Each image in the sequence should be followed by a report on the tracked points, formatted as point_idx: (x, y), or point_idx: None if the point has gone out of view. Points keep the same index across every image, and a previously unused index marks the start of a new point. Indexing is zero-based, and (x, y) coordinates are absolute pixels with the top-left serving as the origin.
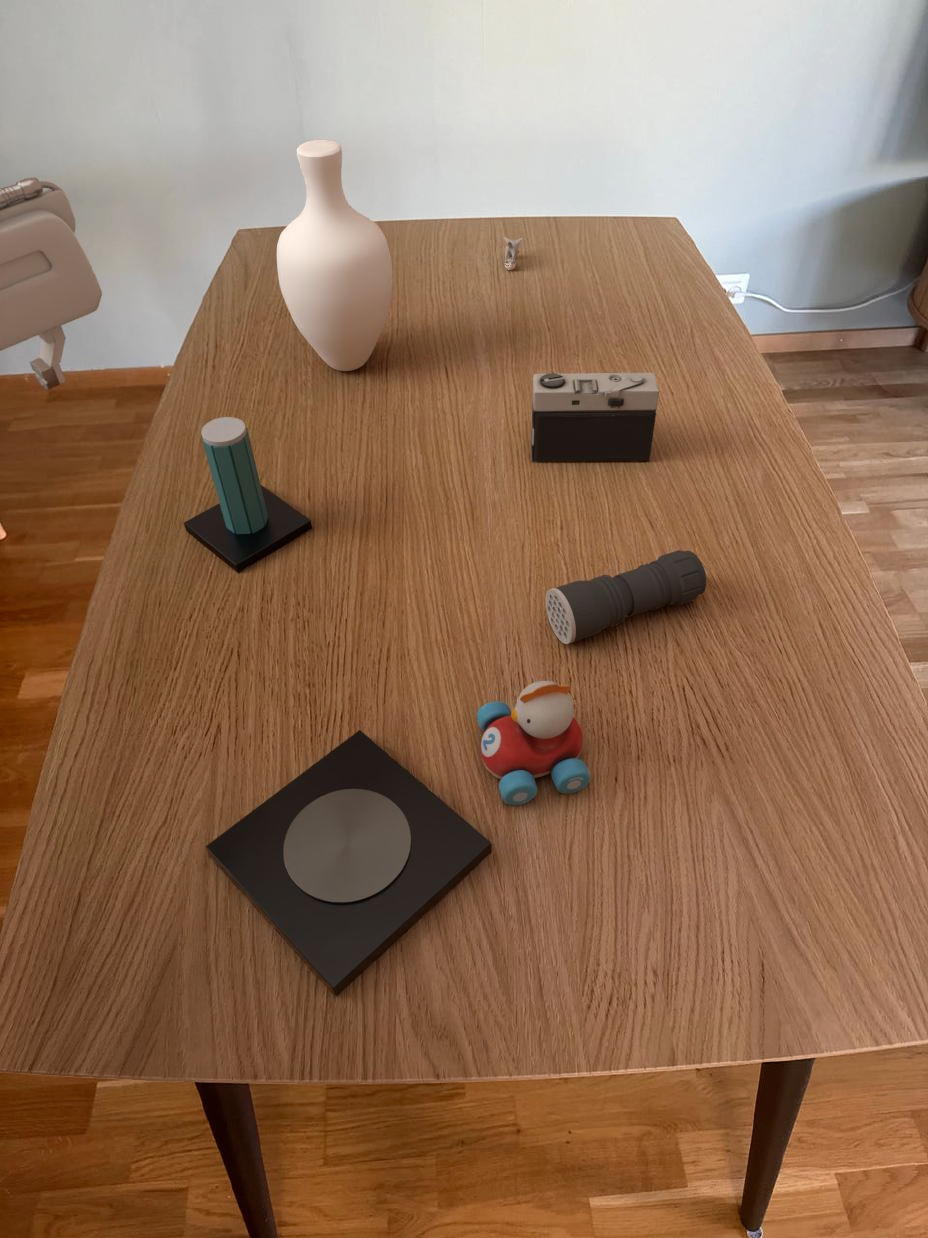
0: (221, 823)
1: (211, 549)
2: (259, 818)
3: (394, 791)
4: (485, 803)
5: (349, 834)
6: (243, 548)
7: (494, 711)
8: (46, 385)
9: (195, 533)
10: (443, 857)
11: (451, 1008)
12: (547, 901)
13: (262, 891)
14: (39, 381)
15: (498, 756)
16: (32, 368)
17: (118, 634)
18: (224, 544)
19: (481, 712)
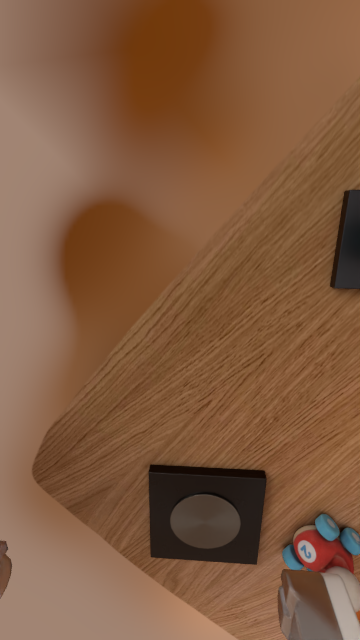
0: (167, 454)
1: (338, 242)
2: (181, 480)
3: (246, 517)
4: (276, 538)
5: (209, 520)
6: (356, 274)
7: (328, 539)
8: (280, 624)
9: (345, 214)
10: (233, 554)
11: (184, 578)
12: (252, 581)
13: (155, 509)
14: (284, 583)
15: (300, 558)
16: (295, 622)
17: (211, 272)
18: (349, 255)
19: (323, 529)
